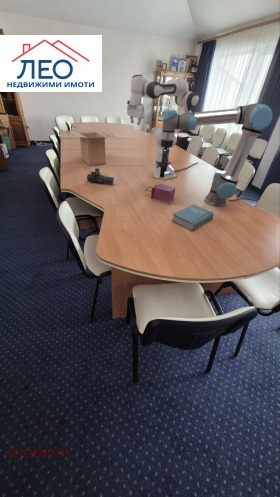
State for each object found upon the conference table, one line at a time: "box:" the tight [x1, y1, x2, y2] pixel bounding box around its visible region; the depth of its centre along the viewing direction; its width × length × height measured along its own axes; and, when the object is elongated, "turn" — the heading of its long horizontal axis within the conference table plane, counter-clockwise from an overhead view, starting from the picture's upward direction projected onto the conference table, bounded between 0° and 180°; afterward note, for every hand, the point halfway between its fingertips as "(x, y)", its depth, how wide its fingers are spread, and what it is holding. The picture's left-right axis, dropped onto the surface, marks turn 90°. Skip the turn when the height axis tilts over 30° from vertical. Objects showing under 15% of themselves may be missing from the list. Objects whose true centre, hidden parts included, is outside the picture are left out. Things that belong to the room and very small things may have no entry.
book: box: [171, 203, 215, 231], centre depth 142 cm, size 23×16×5 cm
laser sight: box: [86, 168, 115, 185], centre depth 184 cm, size 10×22×10 cm, turn 78°
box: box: [70, 129, 114, 166], centre depth 229 cm, size 44×36×27 cm
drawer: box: [144, 184, 159, 199], centre depth 166 cm, size 17×9×8 cm, turn 63°
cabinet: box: [152, 183, 176, 205], centre depth 164 cm, size 13×10×10 cm
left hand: (135, 124), depth 170 cm, fingers open, 8 cm apart
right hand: (163, 174), depth 148 cm, fingers open, 13 cm apart
